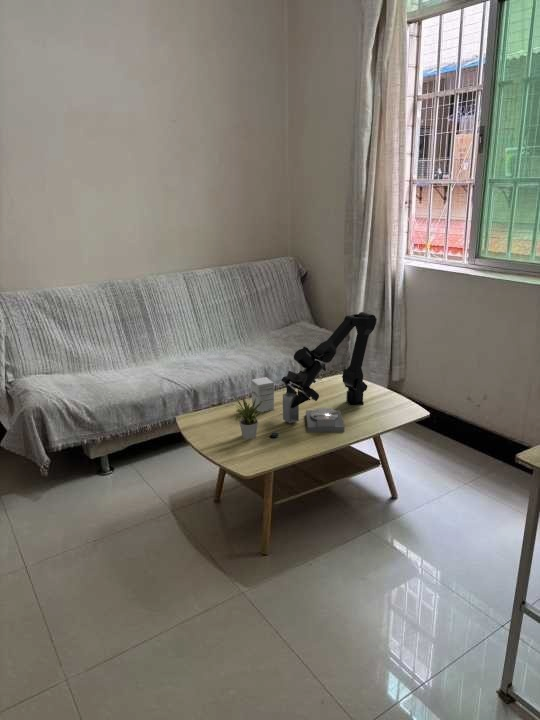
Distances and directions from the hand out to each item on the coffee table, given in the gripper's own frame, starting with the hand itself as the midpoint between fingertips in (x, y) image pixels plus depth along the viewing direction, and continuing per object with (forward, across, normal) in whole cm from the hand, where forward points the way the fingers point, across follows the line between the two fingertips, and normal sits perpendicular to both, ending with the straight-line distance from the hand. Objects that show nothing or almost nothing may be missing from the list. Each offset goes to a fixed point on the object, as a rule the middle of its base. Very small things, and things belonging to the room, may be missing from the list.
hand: (287, 405), depth 222 cm
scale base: (-3, +9, +14) cm, 16 cm away
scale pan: (-5, +7, +13) cm, 16 cm away
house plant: (+20, 0, -9) cm, 21 cm away
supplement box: (+6, -18, +6) cm, 20 cm away
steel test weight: (+4, 0, +6) cm, 7 cm away
